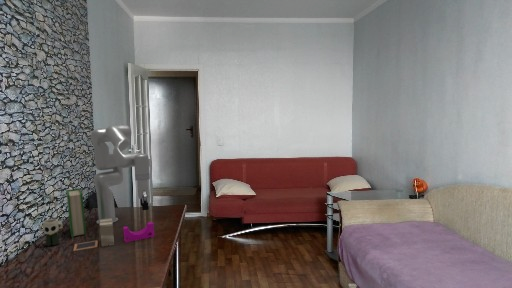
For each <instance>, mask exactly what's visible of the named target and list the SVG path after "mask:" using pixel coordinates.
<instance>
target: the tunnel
mask: <svg viewBox="0 0 512 288" xmlns="http://www.w3.org/2000/svg"><path fill="white" fill-rule="evenodd" d="M99 233H100V242H101V247H107V246H108V245H109V246H114V245H115V238H114V225H113V223H112V218H107V219H100V224H99Z"/></svg>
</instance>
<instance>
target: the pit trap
mask: <svg viewBox="0 0 512 288" xmlns="http://www.w3.org/2000/svg"><path fill="white" fill-rule="evenodd" d="M98 242H99V241H98V240H97V239H96V240H92V241H86V242H81V243H75V244H74V247H73V250H72V251H73V252H76V251H83V250H88V249H95V248H98Z"/></svg>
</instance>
